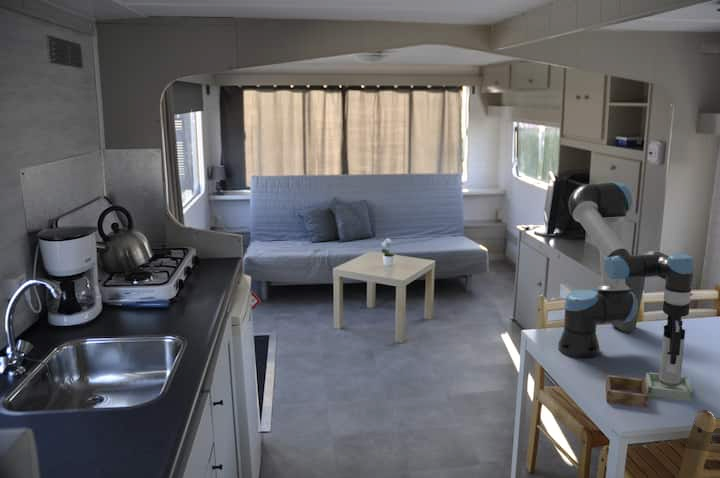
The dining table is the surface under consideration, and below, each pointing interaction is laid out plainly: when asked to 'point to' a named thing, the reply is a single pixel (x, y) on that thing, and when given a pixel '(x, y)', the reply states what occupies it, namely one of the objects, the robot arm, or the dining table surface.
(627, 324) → the vase
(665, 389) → the tray
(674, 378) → the travel mug
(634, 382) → the holder
